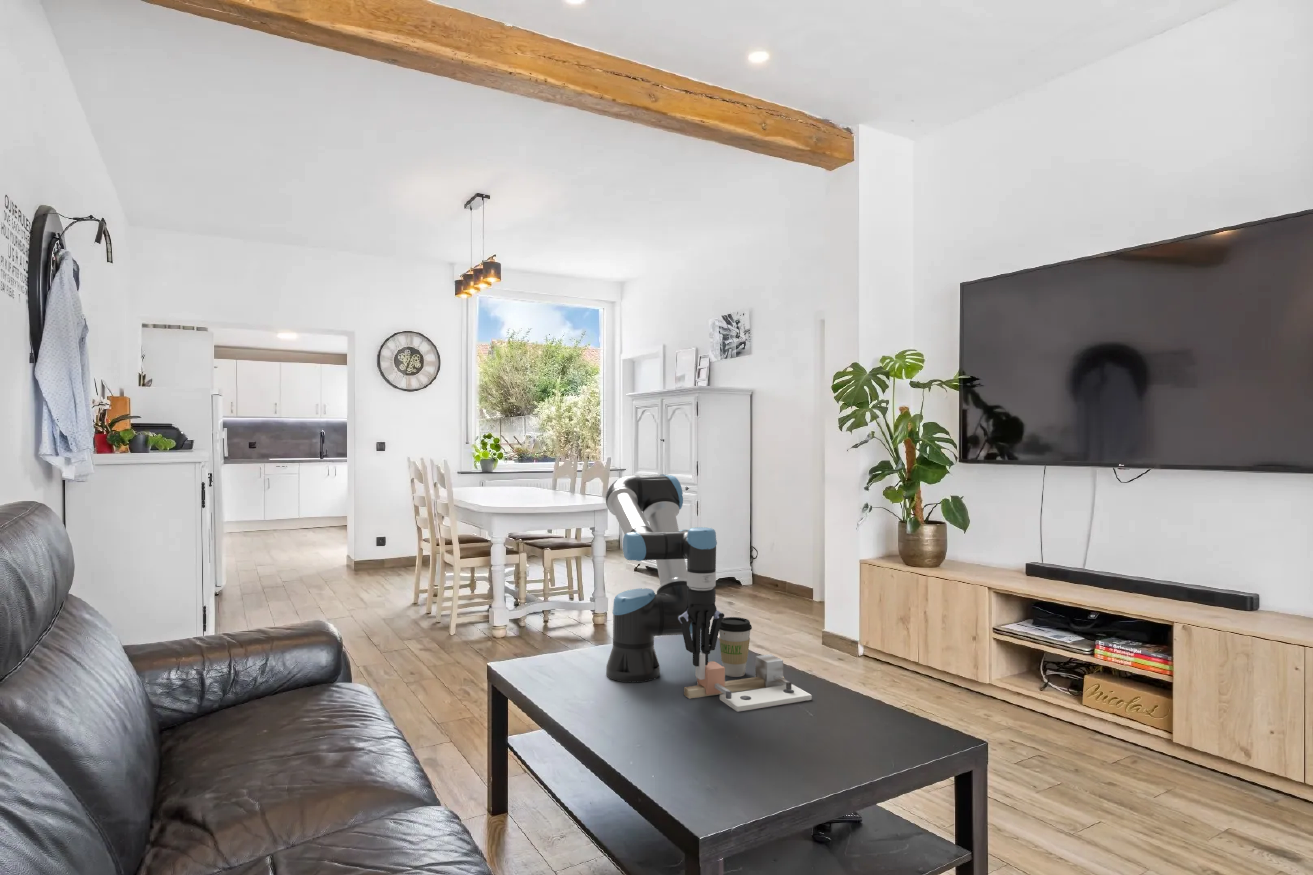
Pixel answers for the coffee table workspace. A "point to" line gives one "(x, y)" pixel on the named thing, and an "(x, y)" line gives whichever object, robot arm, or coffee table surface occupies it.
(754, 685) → the rail
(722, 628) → the coffee cup
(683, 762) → the coffee table surface
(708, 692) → the sliding leg
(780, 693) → the hole plate
